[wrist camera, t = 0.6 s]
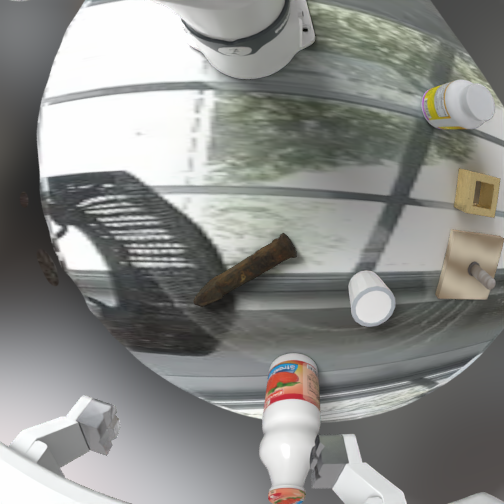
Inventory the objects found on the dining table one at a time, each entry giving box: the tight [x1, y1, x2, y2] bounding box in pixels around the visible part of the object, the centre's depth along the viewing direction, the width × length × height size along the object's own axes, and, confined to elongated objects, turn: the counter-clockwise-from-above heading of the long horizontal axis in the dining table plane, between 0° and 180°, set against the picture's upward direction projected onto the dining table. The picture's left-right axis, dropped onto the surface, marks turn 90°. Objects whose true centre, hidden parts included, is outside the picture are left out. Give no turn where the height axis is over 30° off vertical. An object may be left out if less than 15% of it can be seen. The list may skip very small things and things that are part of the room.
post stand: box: [435, 229, 504, 299], centre depth 40 cm, size 12×12×8 cm
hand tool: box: [194, 233, 297, 307], centre depth 48 cm, size 19×4×5 cm, turn 122°
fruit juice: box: [259, 353, 321, 504], centre depth 43 cm, size 9×9×28 cm
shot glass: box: [348, 270, 395, 327], centre depth 45 cm, size 7×7×7 cm
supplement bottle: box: [421, 80, 495, 129], centre depth 30 cm, size 7×7×13 cm
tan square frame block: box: [454, 168, 500, 218], centre depth 38 cm, size 6×6×4 cm
